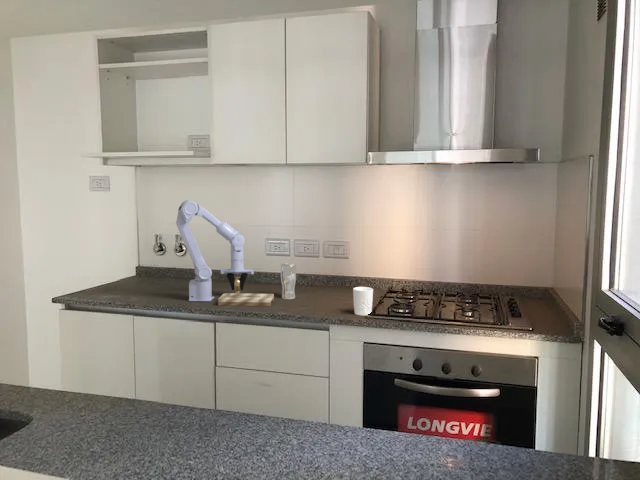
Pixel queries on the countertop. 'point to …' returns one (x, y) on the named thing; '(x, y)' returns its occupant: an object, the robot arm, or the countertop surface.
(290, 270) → the beer glass
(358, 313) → the white cup
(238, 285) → the brass peg
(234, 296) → the checkered wooden board
